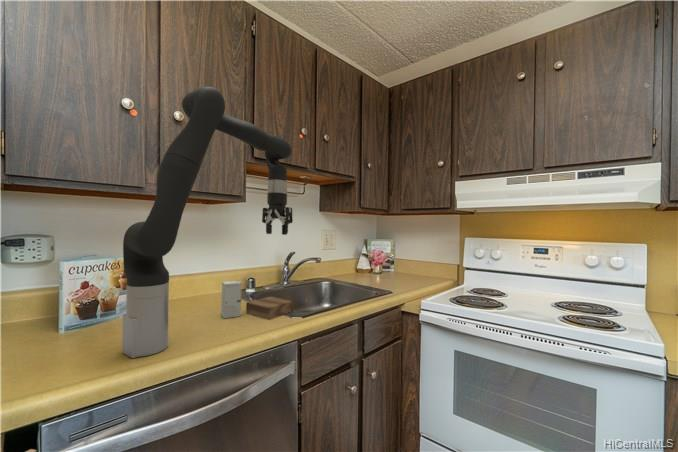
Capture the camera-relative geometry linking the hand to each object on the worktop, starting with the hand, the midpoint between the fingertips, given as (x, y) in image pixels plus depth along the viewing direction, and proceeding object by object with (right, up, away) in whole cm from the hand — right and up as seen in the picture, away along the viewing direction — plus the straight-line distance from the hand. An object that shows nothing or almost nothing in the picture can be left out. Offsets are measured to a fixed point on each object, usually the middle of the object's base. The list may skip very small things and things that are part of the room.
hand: (276, 234), depth 112 cm
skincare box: (-15, -29, -9) cm, 34 cm away
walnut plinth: (-2, -29, -4) cm, 30 cm away
